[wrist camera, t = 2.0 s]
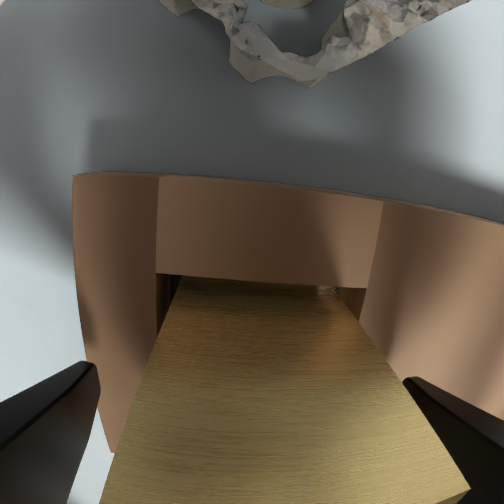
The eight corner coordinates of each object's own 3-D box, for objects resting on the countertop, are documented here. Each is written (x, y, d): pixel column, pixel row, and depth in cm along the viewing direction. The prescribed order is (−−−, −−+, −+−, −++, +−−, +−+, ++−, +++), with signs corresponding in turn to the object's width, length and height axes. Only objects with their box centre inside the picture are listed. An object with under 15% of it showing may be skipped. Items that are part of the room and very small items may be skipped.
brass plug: (185, 379, 11) (153, 587, 3) (186, 266, 10) (95, 516, 2) (302, 385, 11) (358, 580, 4) (325, 277, 10) (471, 488, 2)
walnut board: (122, 419, 11) (110, 452, 9) (103, 171, 9) (73, 174, 7) (492, 399, 13) (509, 418, 11) (553, 236, 10) (579, 247, 8)
